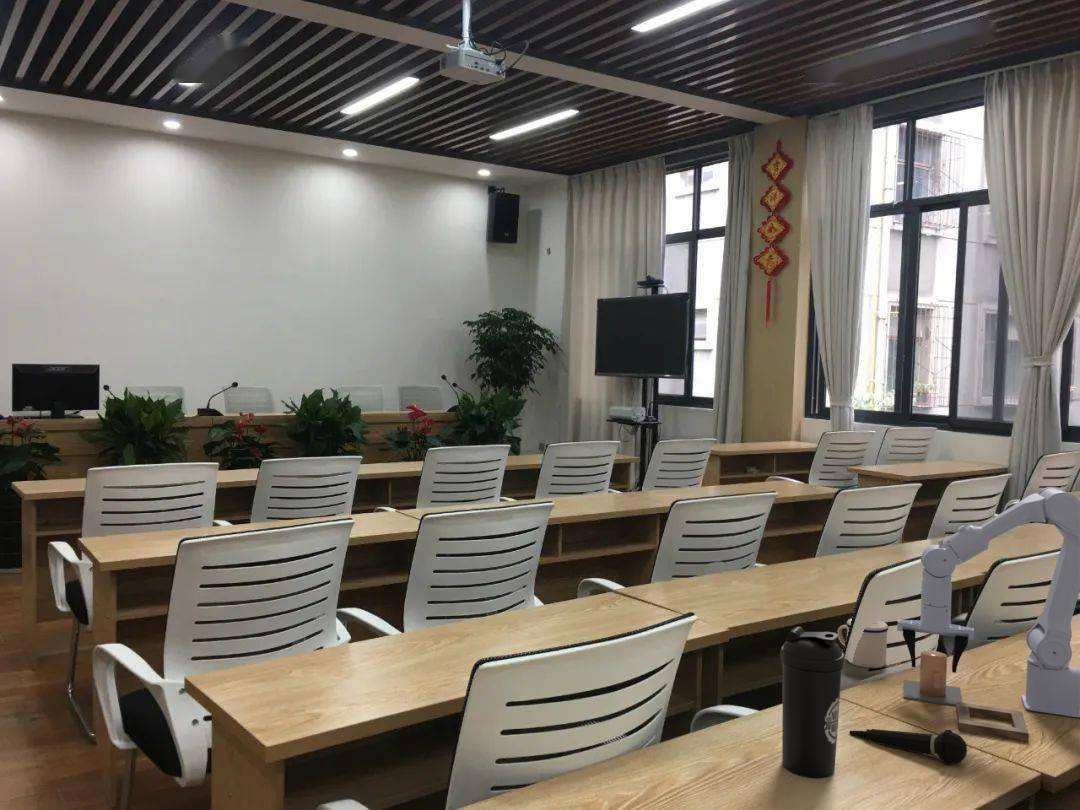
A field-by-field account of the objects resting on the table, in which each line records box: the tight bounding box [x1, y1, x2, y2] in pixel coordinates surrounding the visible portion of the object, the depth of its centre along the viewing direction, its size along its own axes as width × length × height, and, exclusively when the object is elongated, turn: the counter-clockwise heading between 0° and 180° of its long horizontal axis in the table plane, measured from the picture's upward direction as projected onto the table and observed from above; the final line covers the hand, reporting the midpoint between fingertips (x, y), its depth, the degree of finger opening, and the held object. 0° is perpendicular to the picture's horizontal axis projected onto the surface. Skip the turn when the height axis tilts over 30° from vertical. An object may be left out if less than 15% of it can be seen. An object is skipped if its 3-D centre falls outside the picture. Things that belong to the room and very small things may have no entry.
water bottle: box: [780, 626, 845, 779], centre depth 151 cm, size 10×10×23 cm
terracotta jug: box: [919, 649, 948, 697], centre depth 185 cm, size 8×5×8 cm, turn 166°
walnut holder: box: [955, 702, 1030, 742], centre depth 171 cm, size 12×12×2 cm
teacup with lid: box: [837, 617, 889, 669], centre depth 207 cm, size 12×9×12 cm
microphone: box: [849, 728, 968, 765], centre depth 159 cm, size 6×6×20 cm
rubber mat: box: [903, 679, 963, 707], centre depth 187 cm, size 11×11×1 cm
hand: (933, 668), depth 186 cm, fingers open, 7 cm apart
